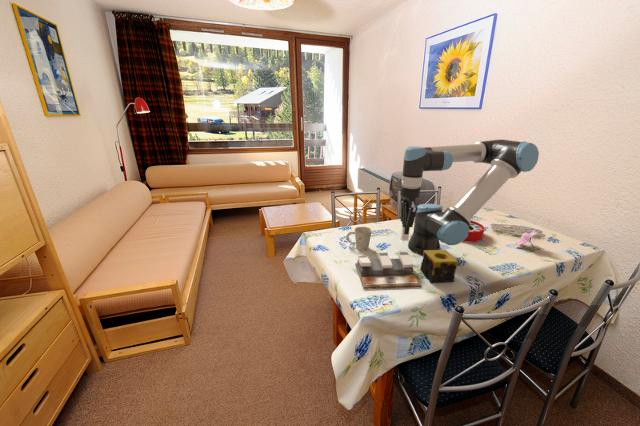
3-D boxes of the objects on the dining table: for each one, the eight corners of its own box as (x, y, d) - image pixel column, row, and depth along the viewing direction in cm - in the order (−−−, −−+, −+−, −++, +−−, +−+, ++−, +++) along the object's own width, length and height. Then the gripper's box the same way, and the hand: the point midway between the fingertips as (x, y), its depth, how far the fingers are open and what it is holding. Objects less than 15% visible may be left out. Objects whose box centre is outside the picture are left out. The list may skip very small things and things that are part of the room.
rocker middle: (386, 256, 122) (387, 252, 121) (391, 269, 115) (392, 265, 114) (377, 257, 122) (378, 252, 120) (382, 269, 115) (383, 265, 114)
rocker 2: (406, 256, 122) (407, 251, 121) (412, 268, 116) (413, 264, 114) (397, 256, 122) (398, 252, 121) (403, 269, 115) (404, 264, 114)
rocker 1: (366, 261, 121) (366, 255, 121) (370, 267, 114) (371, 262, 113) (357, 261, 121) (357, 255, 121) (361, 268, 113) (361, 262, 113)
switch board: (405, 263, 126) (405, 256, 124) (421, 286, 109) (422, 279, 108) (355, 265, 124) (355, 258, 123) (363, 289, 108) (364, 281, 106)
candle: (419, 270, 120) (422, 250, 117) (441, 269, 121) (445, 249, 118) (430, 284, 111) (433, 262, 107) (454, 282, 112) (458, 261, 108)
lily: (523, 242, 147) (517, 227, 146) (549, 242, 137) (542, 226, 135) (513, 254, 142) (506, 239, 141) (539, 256, 132) (531, 239, 130)
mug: (370, 252, 136) (371, 234, 132) (344, 250, 138) (345, 231, 135) (370, 244, 143) (371, 227, 140) (346, 242, 146) (347, 225, 142)
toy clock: (468, 235, 141) (436, 222, 158) (466, 245, 143) (435, 231, 160) (492, 227, 150) (460, 216, 166) (490, 237, 152) (458, 225, 168)
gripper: (396, 182, 116) (391, 233, 124) (407, 190, 104) (400, 247, 112) (413, 182, 116) (407, 233, 124) (426, 190, 104) (419, 246, 112)
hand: (404, 239), depth 118 cm, fingers closed
